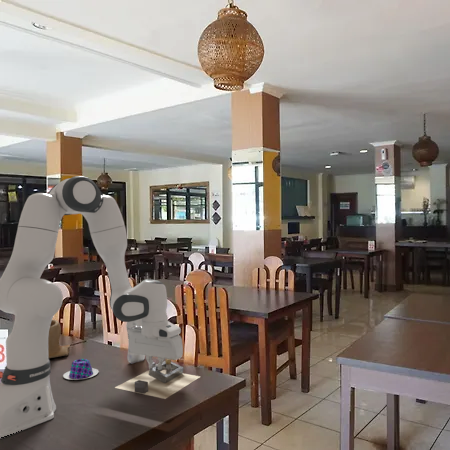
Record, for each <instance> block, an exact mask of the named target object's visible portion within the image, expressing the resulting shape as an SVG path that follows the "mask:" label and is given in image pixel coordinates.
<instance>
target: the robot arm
mask: <svg viewBox="0 0 450 450" xmlns="http://www.w3.org/2000/svg"><path fill="white" fill-rule="evenodd" d="M78 214H79V215H82V216H83V217H84V219H85V220H86V222H87V224H88V230H89V233H90V237H91V240H92V243H93V246H94V247H95V249H96V252H97V254H98V255H99V257H100V258H101V259H102V261H103V262H104V265H105V267H106V272H107V275H108V279H109V283H110V287H111V289H110V291H111V292H110V296H109V306H110V309H111V310H112V313H113V315H114V316H115V318H116V319H117V320H118V321H119V322H125V323H127V322H130V321H135V320H138V319H141V326H133V327H132V328H131V329H130V339H129V351H130V352H131V353H135V354H141V355H145V360H146V361H147V363H148V369H150V368H152V367H154V366H155V367H156V370H162V364H163V362H164V361H166V359H170V360H171V361H176V360H179V359H181V358H182V357H183V353H184V348H183V339H182V336H181V335H180V334H181V332H182V329H181V327H180V326H178V325H176V324H174V323H172V322H170V321H169V320H168V315H167V309H168V294H167V287H166V285H165V284H164V283H163V282H162V281H160V280H157V279H150V278H149V279H143V280H142V281H141V282H140V283H138V284H137V285H135V286H132V285H131V283H130V280H129V276H128V271H127V268H126V261H125V255H126V250H127V247H128V236H127V235H128V234H127V229H126V225H125V221H124V217H123V215H122V213H121V209H120V208H119V205H118V203H117V201H116V199H115V198H114V197H113V196H111V195H106V194H104V193H103V192H102V191H101V190H100V188H99V187H98V185H97V184H96V182H94V180H92V179H91V178H89V177H86V176H83V175H75V176H72V177H71V178H69V177H68V178H65V179H63V180H62V181H60V182H58V183H57V184H55V185H54V186H53V187H52V188H51V189H50V190H49V191H48V192H47V193H44V192H36V193H32V194H31V195H29V196H28V197H27V198H26V201H25V203H24V205H23V208H22V210H21V213H20V217H19V221H18V225H17V230H16V235H15V239H14V245H13V249H12V253H11V256H10V258H9V261H8V262H7V265H6V267H5V269H4V271H3V273H2V275H1V276H0V311H2V312H3V313H5V314H6V313H7V314H10V315H14V322H13V326H12V330H11V332H10V333H9V335H8V336H7V337H6V340H5V349H6V350H5V355H6V356H5V360H6V366H5V367H4V369H3V371H0V439H2V438H1V437H4V436H7V435H9V436H11V435H10V434H12V435H14V434H17V433H19V432H22V431H24V430H27V429H30V428H32V427H34V426H37V425H40V424H42V423H45V422H48V421H50V420H52V419H54V418H55V412H56V410H57V405H56V403H55V400H54V397H53V396H54V395H53V392H52V385H51V379H50V375H51V371H52V370H51V360H50V358H48V335H49V329H50V325H51V321H52V320H53V318H54V316H55V315H56V314H57V313H58V312H59V311H60V310H61V307H62V305H63V301H64V300H63V299H64V297H63V296H64V295H63V292H62V290H61V288H60V287H59V286H58V285H57V284H56V283H54V282H52V281H50V280H47V279H45V278H41V276H42V274H43V272H44V271H45V269H46V267H47V266H48V265H49V264H50V263H51V262H52V261H53V259H54V257H55V253H56V247H57V246H56V245H57V241H58V235H59V230H60V223H61V221H62V218H63V217H64V216H69V215H78ZM153 358H157V361H158V363H156V362H154V360H153ZM21 430H22V431H21ZM18 431H19V432H18ZM16 432H17V433H16ZM13 433H14V434H13ZM7 437H8V436H7ZM4 438H5V437H4Z"/></svg>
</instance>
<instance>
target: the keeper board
mask: <svg viewBox="0 0 450 450" xmlns="http://www.w3.org/2000/svg"><path fill="white" fill-rule="evenodd" d="M164 361H165V363H166V369H164V370H162V371H160V372H161V373H163V374H165V375H166V374H168V373H170V372H171V371H172V370H171V362H172V360H171V359H165V360H164ZM200 378H201V376H199V375H194V374H188V373H184V372H183V374H181V375H179V376H177V377H176V378H174V379H172V380H171V381H169V382H167V383H163V382H161V381H159V380H157V379H155V378H153V377H152V376H150V375H149V370H148V369H147V370H146V371H144V372H142V373H140V374H139V375H137V376H134V377H133V378H131V379H129V380H126V381H125V382H123V383H121V384H119V385H117V386H115V387H114V388H115V389H119V390H121V391H122V390H123V391H128V392H133V393H135V394H136V393H137V394H142V395H145V396H150V397H154V398H159V399H162V400H163V399H164V400H166V399H168V398H170V397H171V396H172V395H174V394H176V393H177V392H179V391H181V390H183V389H184V388H185V387H187V386H188V385H190V384H191V383H193V382H195V381H196V380H198V379H200Z"/></svg>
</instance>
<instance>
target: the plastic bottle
mask: <svg viewBox="0 0 450 450" xmlns="http://www.w3.org/2000/svg"><path fill="white" fill-rule="evenodd" d="M133 326H141V319H138V320H135V321H130V322H126V325H125V327H126V331H127V339H128V340H127V341H128V345H127V347H128V348H127V349H128V350H127V362H128V363H129V364H131V365H134V364H135V363H139V362H143V361H145V360H146V355H141V354H135V353H131V352H130V351H129V339H130V329H131V328H132V327H133Z"/></svg>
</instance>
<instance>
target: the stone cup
mask: <svg viewBox="0 0 450 450" xmlns="http://www.w3.org/2000/svg"><path fill="white" fill-rule="evenodd" d="M61 331H62V329H61V323H60V322H59V321H58V320H56V319H52V321H51V325H50V329H49V335H48V358H49V359H53V358H60V357H64V356H68V355H69V354H70V351H71V344H65V345H60V340H61Z"/></svg>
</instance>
